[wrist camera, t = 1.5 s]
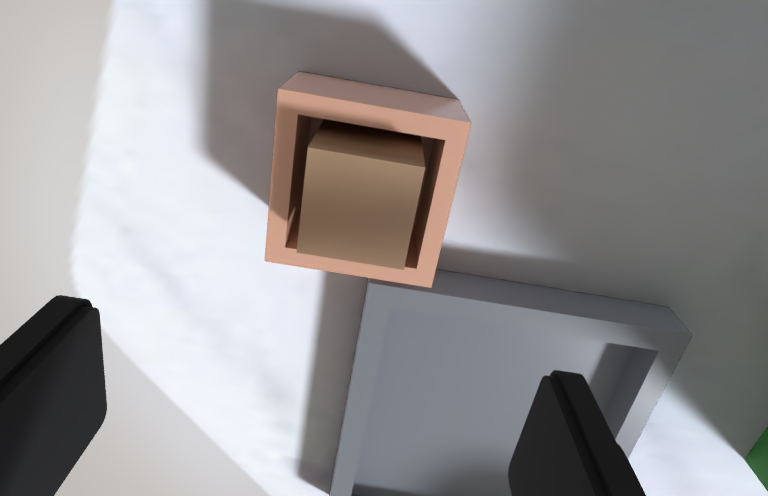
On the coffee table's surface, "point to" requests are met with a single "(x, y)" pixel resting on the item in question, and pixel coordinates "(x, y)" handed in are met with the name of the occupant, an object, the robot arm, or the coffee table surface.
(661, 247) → the coffee table surface
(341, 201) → the block
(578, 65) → the coffee table surface
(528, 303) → the tray
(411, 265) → the salmon pink square box
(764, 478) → the hardback book
